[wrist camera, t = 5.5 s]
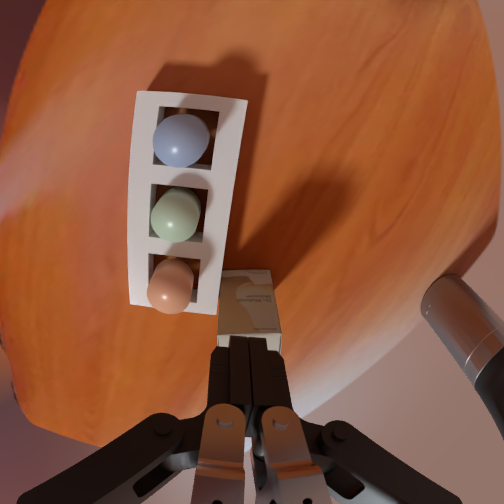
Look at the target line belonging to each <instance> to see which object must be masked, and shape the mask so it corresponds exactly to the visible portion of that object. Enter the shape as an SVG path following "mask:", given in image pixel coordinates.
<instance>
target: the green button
mask: <svg viewBox="0 0 504 504" xmlns="http://www.w3.org/2000/svg"><path fill="white" fill-rule="evenodd" d="M200 214H201V203H200V200H199V198H198V196H197V195H196V194H195V193H194V192H193V191H191V190H190V189H188V188H184V187H175V188H172V189H169V190H168V191H166V192H165V193H164V194H163V196H162V197H161V198H160V200H159V201H158V202H157V204H156V205H155V206H154V208H153V210H152V213H151V225H152V228H153V230H154V231H155V233H156V234H157V235H158V236H159V237H160V238H162V239H164V240H166V241H169V242H182V241H185V240H187V239H188V238H190V237H191V236H192V235H193V234H194V232H195V230H196V228H197V225H198V221H199V217H200Z"/></svg>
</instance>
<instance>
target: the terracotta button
mask: <svg viewBox="0 0 504 504" xmlns="http://www.w3.org/2000/svg"><path fill="white" fill-rule="evenodd" d="M193 281H194V275H193V272H192V270H191V268H190V267H189V266H188V265H187V264H186V263H184V262H183V261H180V260H177V259H166V260H164V261H162V262H160V263H159V264H158V265H157V266H156V268H155V271H154V273H153V275H152V278H151V280H150V283H149V285H148V288H147V298H148V301H149V302H150V304H151V305H152V306H153V307H154V308H155V309H157V310H158V311H160V312H163V313H166V314H176V313H180V312H182V311H183V310H185V309H186V308H187V307H188V305H189V303H190V298H191V293H192V287H193Z"/></svg>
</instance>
